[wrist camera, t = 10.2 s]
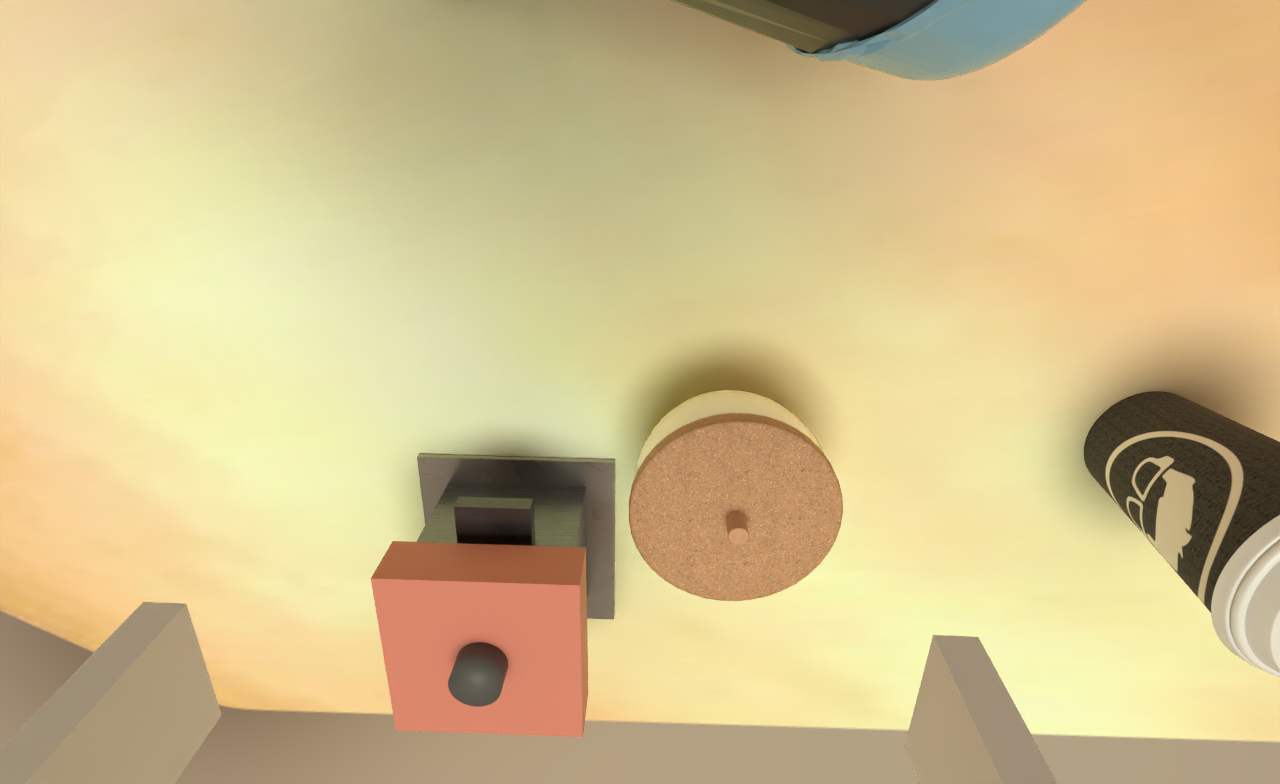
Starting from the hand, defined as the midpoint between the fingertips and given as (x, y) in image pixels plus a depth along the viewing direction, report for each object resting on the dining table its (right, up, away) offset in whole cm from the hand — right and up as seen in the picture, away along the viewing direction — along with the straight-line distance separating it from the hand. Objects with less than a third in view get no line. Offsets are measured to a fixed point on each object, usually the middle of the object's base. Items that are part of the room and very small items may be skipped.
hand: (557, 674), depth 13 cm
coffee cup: (+31, +2, +29) cm, 42 cm away
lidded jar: (+6, +2, +30) cm, 31 cm away
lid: (-6, -7, +26) cm, 27 cm away
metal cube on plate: (-6, -4, +33) cm, 34 cm away
